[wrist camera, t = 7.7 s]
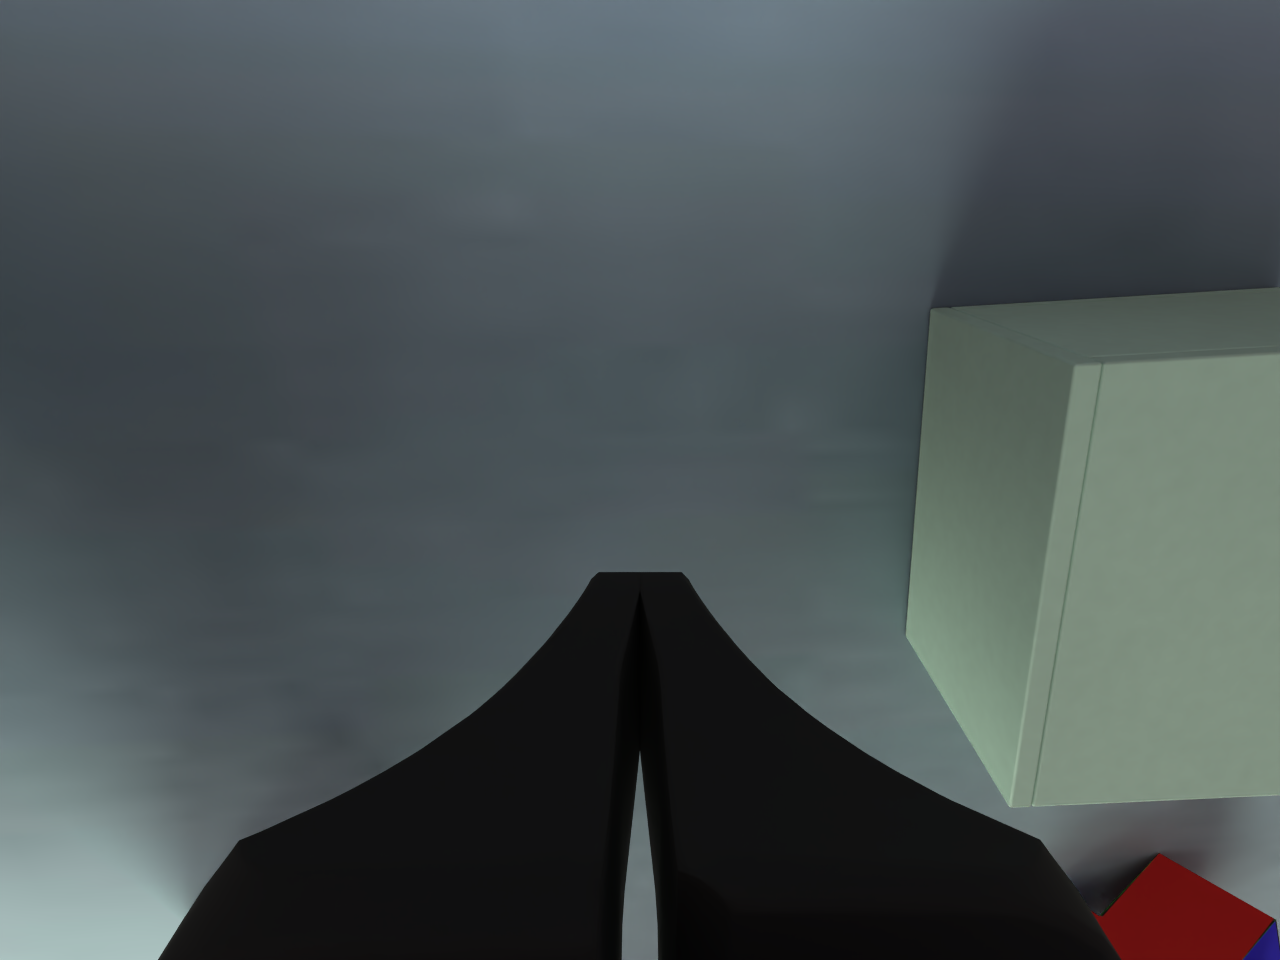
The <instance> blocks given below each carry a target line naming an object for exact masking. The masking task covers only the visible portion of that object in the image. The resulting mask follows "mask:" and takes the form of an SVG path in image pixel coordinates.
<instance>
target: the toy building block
mask: <svg viewBox="0 0 1280 960" xmlns="http://www.w3.org/2000/svg"><path fill="white" fill-rule="evenodd" d="M1091 912H1092V911H1091ZM1092 913H1093V915H1094V916H1095V918H1096V919H1097V921H1098V923H1099V925H1100V926H1101V928H1102V929H1103V931H1104V933H1105V934H1106V936H1107V937H1108V939H1109V941H1110V942H1111V944H1112V945H1113V947H1114V949H1115V950H1116V952H1117V953H1118V955H1119V956H1120V958H1121V960H1280V943H1279V937H1278V930H1277V923H1276V920H1275V919H1274V918H1272V917H1270V916H1268V915H1267V914H1265V913H1263V912H1261V911H1260V910H1258V909H1256V908H1254V907H1253V906H1251V905H1249V904H1247V903H1246V902H1244V901H1242V900H1240V899H1239V898H1237V897H1235V896H1233V895H1232V894H1230V893H1228V892H1226V891H1225V890H1223V889H1221V888H1219V887H1218V886H1216V885H1214V884H1212V883H1211V882H1209V881H1207V880H1205V879H1204V878H1202V877H1200V876H1198V875H1197V874H1195V873H1193V872H1191V871H1190V870H1188V869H1186V868H1184V867H1183V866H1181V865H1179V864H1177V863H1175V862H1174V861H1172V860H1170V859H1168V858H1167V857H1165V856H1163V855H1161V854H1160V853H1159V854H1158V855H1157V856H1156V857H1155V858H1154V859H1153V860H1152V861H1151V862H1150V863H1149V864H1148V866H1147V867H1146V868H1145V869H1144V870H1143V871H1142V872H1141V873H1140V874H1139V875H1138V876H1137V877H1136V878H1135V879H1134V880H1133V881H1132V882H1131V883H1130V884H1129V885H1128V886H1127V887H1126V889H1125V890H1124V891H1123V892H1122V893H1121V894H1120V895H1119V896H1118V897H1117V898H1116V899H1115V900H1114V901H1113V902H1112V903H1111V904H1110V905H1109V906H1108V907H1107V908H1106V909H1105V911H1104V912H1103V913H1102V914H1101V915H1100V916H1098V915H1097V914H1095V913H1094V912H1092Z"/></svg>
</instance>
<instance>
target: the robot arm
mask: <svg viewBox="0 0 1280 960" xmlns="http://www.w3.org/2000/svg"><path fill="white" fill-rule="evenodd" d="M639 754H641V764H642V773H643V782H644V792H645V801H646V810H647V819H648V828H649V837H650V846H651V855H652V864H653V874H654V883H655V893H656V907H657V922H658V960H1121V958H1120V956H1119V955H1118V953H1117V952H1116V950H1115V949H1114V947H1113V945H1112V944H1111V942H1110V941H1109V939H1108V937H1107V936H1106V934H1105V933H1104V931H1103V929H1102V928H1101V926H1100V925H1099V923H1098V921H1097V919H1096V918H1095V916H1094V915H1093V913H1092V912H1091V910H1090V909H1089V907H1088V906H1087V904H1086V902H1085V901H1084V899H1083V898H1082V896H1081V895H1080V893H1079V892H1078V890H1077V889H1076V887H1075V886H1074V885H1073V883H1072V882H1071V881H1070V879H1069V878H1068V877H1067V875H1066V874H1065V873H1064V871H1063V870H1062V869H1061V867H1060V866H1059V865H1058V863H1057V862H1056V861H1055V859H1054V858H1053V857H1052V855H1051V854H1050V853H1049V851H1048V850H1047V848H1046V847H1045V846H1044V844H1043V843H1042V842H1041V840H1039V839H1037V838H1035V837H1033V836H1030V835H1028V834H1026V833H1024V832H1021V831H1019V830H1017V829H1015V828H1012V827H1010V826H1008V825H1006V824H1003V823H1001V822H999V821H997V820H994V819H992V818H990V817H988V816H985V815H983V814H981V813H979V812H976V811H974V810H972V809H970V808H967V807H965V806H963V805H961V804H958V803H956V802H954V801H952V800H949V799H947V798H945V797H943V796H941V795H939V794H938V793H936V792H934V791H932V790H930V789H928V788H926V787H925V786H923V785H921V784H919V783H917V782H915V781H913V780H912V779H910V778H908V777H906V776H904V775H902V774H900V773H899V772H897V771H895V770H893V769H891V768H890V767H888V766H886V765H885V764H883V763H881V762H880V761H878V760H876V759H875V758H873V757H871V756H870V755H868V754H866V753H865V752H863V751H862V750H860V749H859V748H857V747H856V746H854V745H853V744H851V743H850V742H848V741H847V740H845V739H844V738H842V737H841V736H839V735H838V734H836V733H835V732H833V731H832V730H830V729H829V728H827V727H826V726H825V725H823V724H822V723H821V722H819V721H818V720H817V719H815V718H814V717H812V716H811V715H810V714H809V713H807V712H806V711H805V710H804V709H802V708H801V707H800V706H799V705H798V704H796V703H795V702H794V701H793V700H791V699H790V698H789V697H788V696H787V695H785V694H784V693H783V692H782V691H781V690H779V689H778V688H777V687H776V686H775V685H774V684H773V683H772V682H771V681H770V680H769V679H768V678H767V677H766V676H765V675H764V674H763V673H762V672H761V671H760V670H759V669H758V668H757V667H756V666H755V665H754V664H753V663H752V662H751V661H750V660H749V659H748V658H747V657H746V655H745V654H744V653H743V652H742V651H741V650H740V649H739V648H738V647H737V645H736V644H735V643H734V642H733V641H732V639H731V638H730V637H729V636H728V634H727V633H726V632H725V631H724V630H723V628H722V627H721V626H720V625H719V624H718V622H717V621H716V620H715V618H714V617H713V616H712V614H711V613H710V612H709V610H708V609H707V607H706V606H705V605H704V603H703V602H702V600H701V599H700V597H699V596H698V594H697V593H696V591H695V590H694V588H693V586H692V585H691V583H690V581H689V579H688V578H687V577H686V576H685V575H684V574H683V573H682V572H599V573H597V574H596V575H595V576H594V577H593V578H592V579H591V581H590V582H589V584H588V586H587V587H586V589H585V591H584V592H583V594H582V595H581V597H580V598H579V600H578V601H577V603H576V604H575V605H574V607H573V608H572V610H571V611H570V612H569V614H568V615H567V616H566V618H565V619H564V620H563V621H562V623H561V624H560V625H559V626H558V628H557V629H556V630H555V631H554V633H553V634H552V635H551V637H550V638H549V639H548V640H547V641H546V643H545V644H544V645H543V646H542V647H541V648H540V649H539V650H538V651H537V652H536V653H535V655H534V656H533V657H532V658H531V659H530V660H529V661H528V662H527V663H526V664H525V665H524V666H523V667H522V668H521V670H520V671H519V672H518V673H517V674H516V675H515V676H514V677H513V678H512V679H511V680H510V681H509V682H508V683H506V684H505V685H504V686H503V687H502V688H501V689H500V690H499V691H498V692H497V693H496V694H495V695H494V696H492V697H491V698H490V699H489V700H488V701H487V702H485V703H484V704H483V705H482V706H481V707H480V708H478V709H477V710H476V711H475V712H473V713H472V714H471V715H470V716H468V717H467V718H465V719H464V720H462V721H461V722H459V723H458V724H457V725H455V726H454V727H452V728H451V729H449V730H448V731H447V732H445V733H444V734H442V735H441V736H439V737H438V738H437V739H435V740H434V741H432V742H431V743H429V744H428V745H427V746H425V747H424V748H422V749H421V750H419V751H418V752H416V753H414V754H413V755H411V756H409V757H408V758H406V759H404V760H403V761H401V762H399V763H398V764H396V765H394V766H393V767H391V768H389V769H388V770H386V771H384V772H382V773H381V774H379V775H377V776H375V777H373V778H371V779H370V780H368V781H366V782H364V783H362V784H360V785H359V786H357V787H355V788H353V789H351V790H349V791H347V792H345V793H343V794H341V795H339V796H337V797H335V798H333V799H331V800H329V801H327V802H325V803H323V804H321V805H318V806H316V807H314V808H312V809H310V810H307V811H305V812H303V813H301V814H299V815H296V816H294V817H292V818H290V819H288V820H285V821H283V822H281V823H279V824H277V825H274V826H272V827H270V828H268V829H266V830H263V831H261V832H259V833H256V834H254V835H252V836H249V837H247V838H244V839H242V840H239V841H238V843H237V844H236V846H235V847H234V848H233V850H232V851H231V852H230V854H229V855H228V857H227V858H226V859H225V861H224V862H223V863H222V865H221V866H220V867H219V868H218V870H217V871H216V872H215V874H214V875H213V876H212V878H211V879H210V880H209V882H208V883H207V884H206V886H205V887H204V888H203V890H202V892H201V893H200V895H199V896H198V898H197V899H196V901H195V902H194V904H193V905H192V907H191V908H190V910H189V911H188V913H187V914H186V916H185V917H184V919H183V921H182V922H181V924H180V925H179V927H178V929H177V930H176V932H175V933H174V935H173V937H172V938H171V940H170V941H169V943H168V945H167V946H166V948H165V949H164V951H163V953H162V954H161V956H160V957H159V959H158V960H622V921H623V906H624V891H625V882H626V873H627V864H628V855H629V845H630V836H631V827H632V818H633V809H634V800H635V791H636V782H637V772H638V763H639Z"/></svg>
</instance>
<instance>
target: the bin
mask: <svg viewBox="0 0 1280 960" xmlns="http://www.w3.org/2000/svg"><path fill="white" fill-rule="evenodd" d="M906 637H907V638H908V640H909V642H910V643H911V645H912V647H913V648H914V650H915V652H916V653H917V655H918V657H919V658H920V660H921V662H922V663H923V665H924V667H925V668H926V670H927V672H928V673H929V675H930V676H931V678H932V680H933V681H934V683H935V685H936V686H937V688H938V690H939V691H940V693H941V695H942V696H943V698H944V700H945V701H946V703H947V705H948V706H949V708H950V709H951V711H952V713H953V714H954V716H955V718H956V719H957V721H958V723H959V724H960V726H961V728H962V729H963V731H964V733H965V734H966V736H967V738H968V739H969V741H970V743H971V744H972V746H973V747H974V749H975V751H976V752H977V754H978V756H979V757H980V759H981V761H982V762H983V764H984V766H985V767H986V769H987V771H988V772H989V774H990V776H991V777H992V779H993V781H994V782H995V784H996V785H997V787H998V789H999V790H1000V792H1001V794H1002V795H1003V797H1004V799H1005V800H1006V802H1007V804H1008V805H1009V807H1012V808H1014V807H1030V806H1031V805H1032V806H1057V805H1078V804H1100V803H1121V802H1143V801H1164V800H1185V799H1207V798H1228V797H1250V796H1271V795H1280V288H1279V287H1275V288H1259V289H1242V290H1226V291H1209V292H1193V293H1176V294H1160V295H1143V296H1127V297H1110V298H1094V299H1078V300H1061V301H1045V302H1028V303H1012V304H995V305H979V306H962V307H951V308H948V307H946V308H933V309H931V311H930V324H929V337H928V350H927V363H926V376H925V389H924V402H923V416H922V429H921V442H920V455H919V468H918V481H917V494H916V507H915V520H914V533H913V546H912V560H911V573H910V586H909V599H908V612H907V625H906Z"/></svg>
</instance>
